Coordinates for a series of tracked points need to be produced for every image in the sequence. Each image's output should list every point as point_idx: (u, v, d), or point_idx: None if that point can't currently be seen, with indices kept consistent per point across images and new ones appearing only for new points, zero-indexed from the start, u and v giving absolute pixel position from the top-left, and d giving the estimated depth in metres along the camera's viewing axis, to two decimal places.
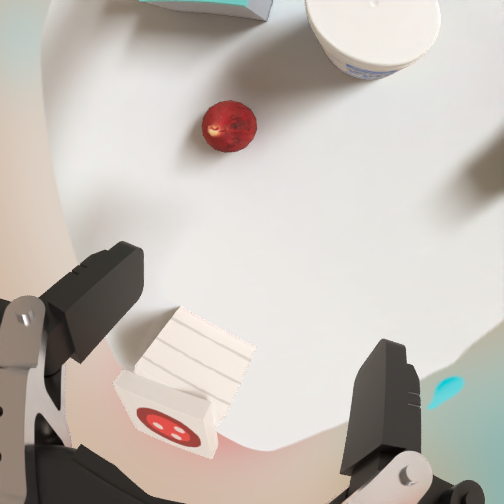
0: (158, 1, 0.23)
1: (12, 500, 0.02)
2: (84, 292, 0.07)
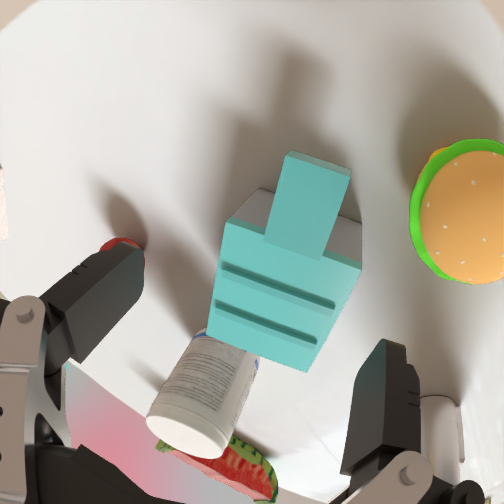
0: None
1: (12, 500, 0.02)
2: (84, 292, 0.07)
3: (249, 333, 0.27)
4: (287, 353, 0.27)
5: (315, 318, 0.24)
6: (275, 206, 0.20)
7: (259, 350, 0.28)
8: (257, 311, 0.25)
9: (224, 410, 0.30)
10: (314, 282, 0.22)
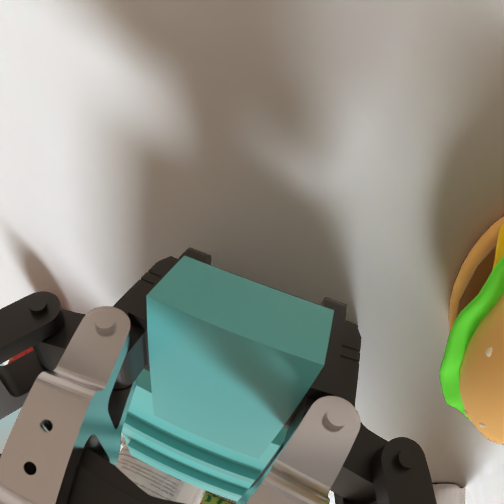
0: None
1: None
2: None
3: None
4: (235, 495, 0.15)
5: None
6: (156, 380, 0.08)
7: (198, 485, 0.16)
8: (183, 460, 0.14)
9: None
10: (258, 460, 0.11)
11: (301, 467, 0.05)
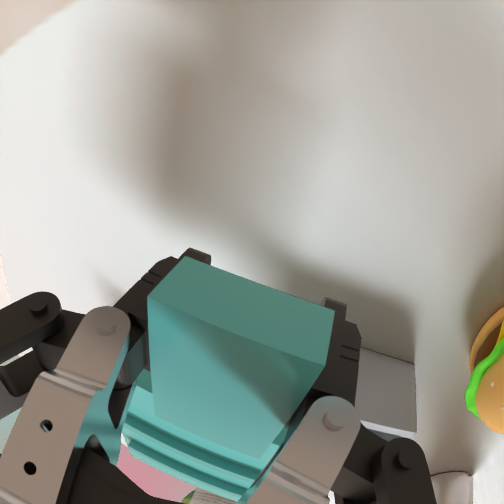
0: None
1: None
2: None
3: None
4: (235, 495, 0.15)
5: None
6: (157, 381, 0.08)
7: (199, 485, 0.16)
8: (183, 461, 0.14)
9: None
10: (259, 461, 0.11)
11: (301, 467, 0.05)
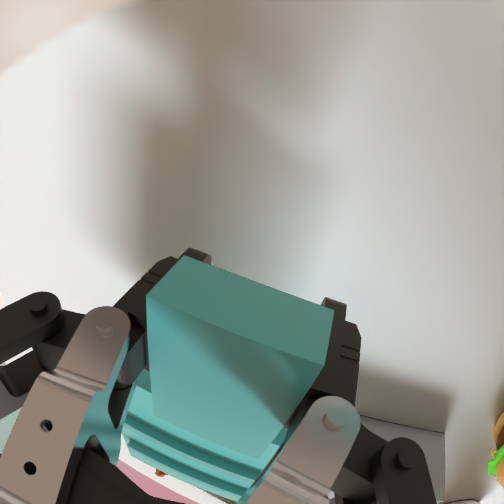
0: None
1: None
2: None
3: None
4: (235, 495, 0.15)
5: None
6: (156, 380, 0.08)
7: (198, 485, 0.16)
8: (182, 461, 0.14)
9: None
10: (258, 461, 0.11)
11: (301, 467, 0.05)
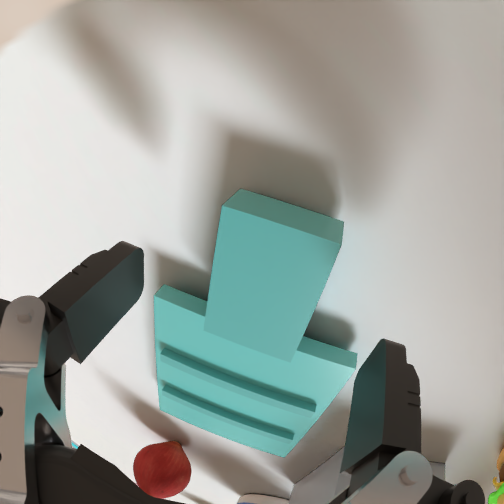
0: None
1: (12, 500, 0.02)
2: (84, 292, 0.07)
3: (209, 417, 0.19)
4: (258, 440, 0.19)
5: (290, 414, 0.16)
6: (215, 286, 0.12)
7: (224, 433, 0.20)
8: (214, 399, 0.18)
9: None
10: (286, 379, 0.15)
11: None
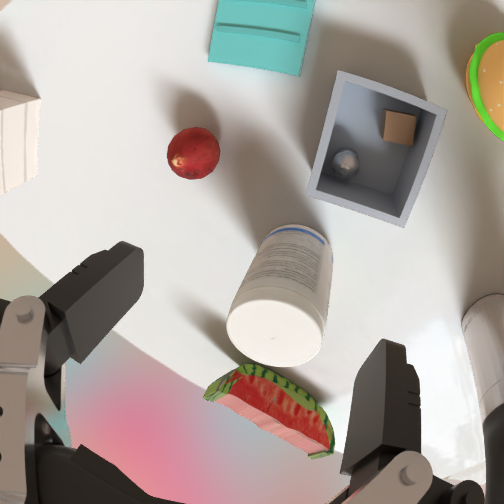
0: None
1: (12, 500, 0.02)
2: (84, 292, 0.07)
3: (244, 45, 0.28)
4: (278, 56, 0.27)
5: (295, 16, 0.25)
6: None
7: (254, 61, 0.28)
8: (250, 21, 0.26)
9: (320, 293, 0.29)
10: None
11: None
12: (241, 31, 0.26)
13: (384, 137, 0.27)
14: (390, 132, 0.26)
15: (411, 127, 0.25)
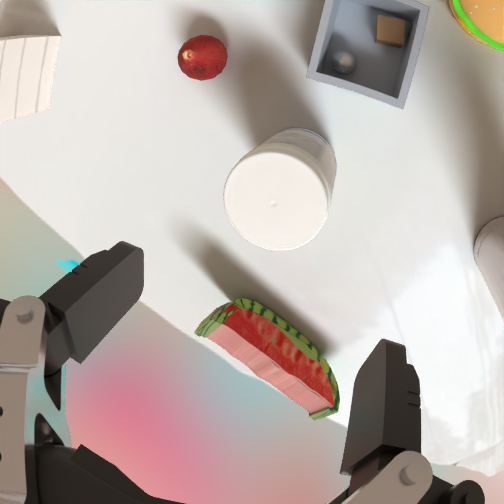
0: None
1: (12, 500, 0.02)
2: (84, 292, 0.07)
3: None
4: None
5: None
6: None
7: None
8: None
9: (323, 164, 0.27)
10: None
11: None
12: None
13: (377, 36, 0.25)
14: (383, 32, 0.25)
15: (401, 28, 0.24)
